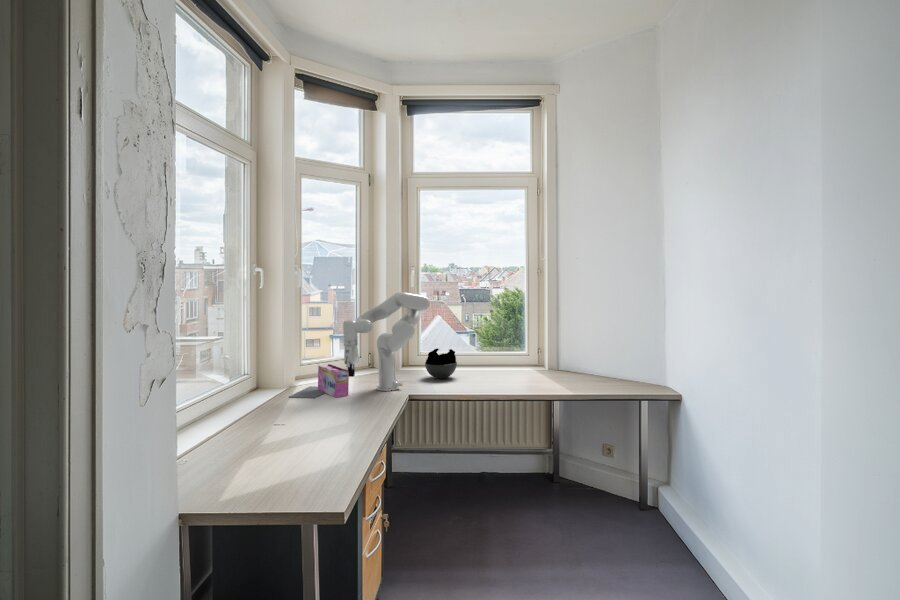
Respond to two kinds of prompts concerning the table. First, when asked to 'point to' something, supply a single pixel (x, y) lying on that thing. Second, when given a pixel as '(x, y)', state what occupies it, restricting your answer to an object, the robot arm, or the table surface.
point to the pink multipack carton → (333, 380)
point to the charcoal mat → (308, 393)
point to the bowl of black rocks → (441, 364)
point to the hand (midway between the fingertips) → (351, 376)
